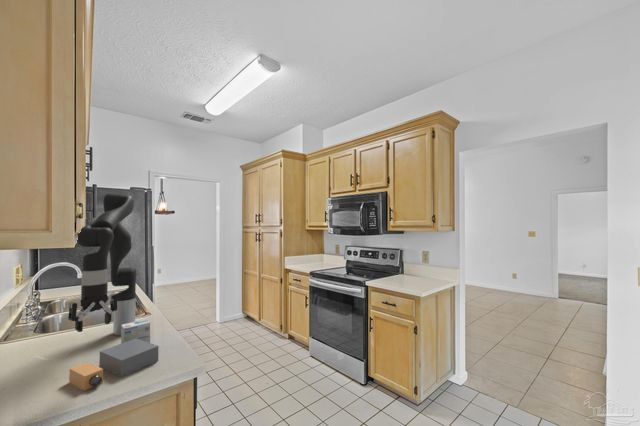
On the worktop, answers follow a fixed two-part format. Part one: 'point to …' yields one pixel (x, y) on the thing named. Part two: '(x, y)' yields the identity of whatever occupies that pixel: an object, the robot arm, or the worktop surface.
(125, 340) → the light bulb box
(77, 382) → the block
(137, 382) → the worktop surface
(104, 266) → the robot arm
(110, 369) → the stand
